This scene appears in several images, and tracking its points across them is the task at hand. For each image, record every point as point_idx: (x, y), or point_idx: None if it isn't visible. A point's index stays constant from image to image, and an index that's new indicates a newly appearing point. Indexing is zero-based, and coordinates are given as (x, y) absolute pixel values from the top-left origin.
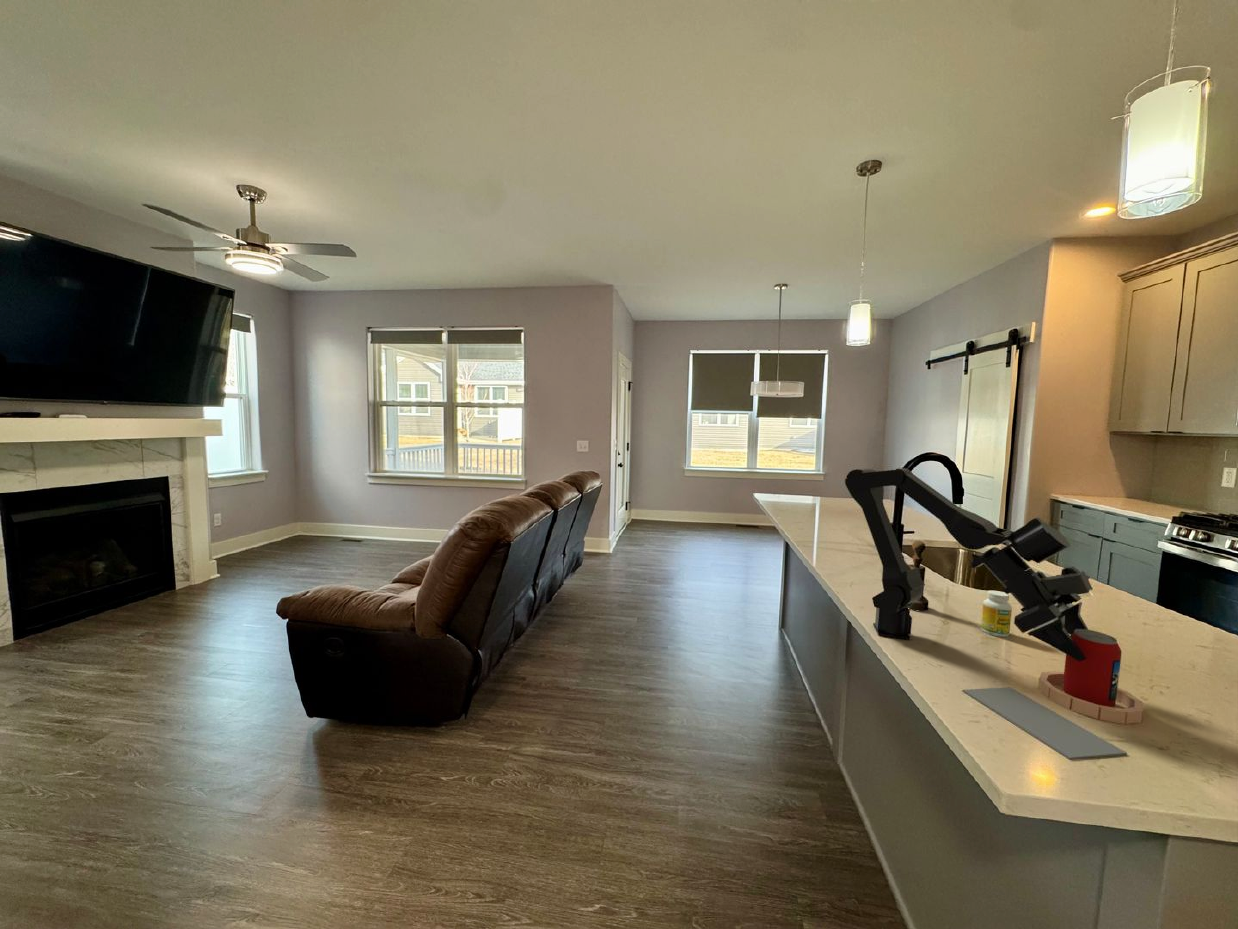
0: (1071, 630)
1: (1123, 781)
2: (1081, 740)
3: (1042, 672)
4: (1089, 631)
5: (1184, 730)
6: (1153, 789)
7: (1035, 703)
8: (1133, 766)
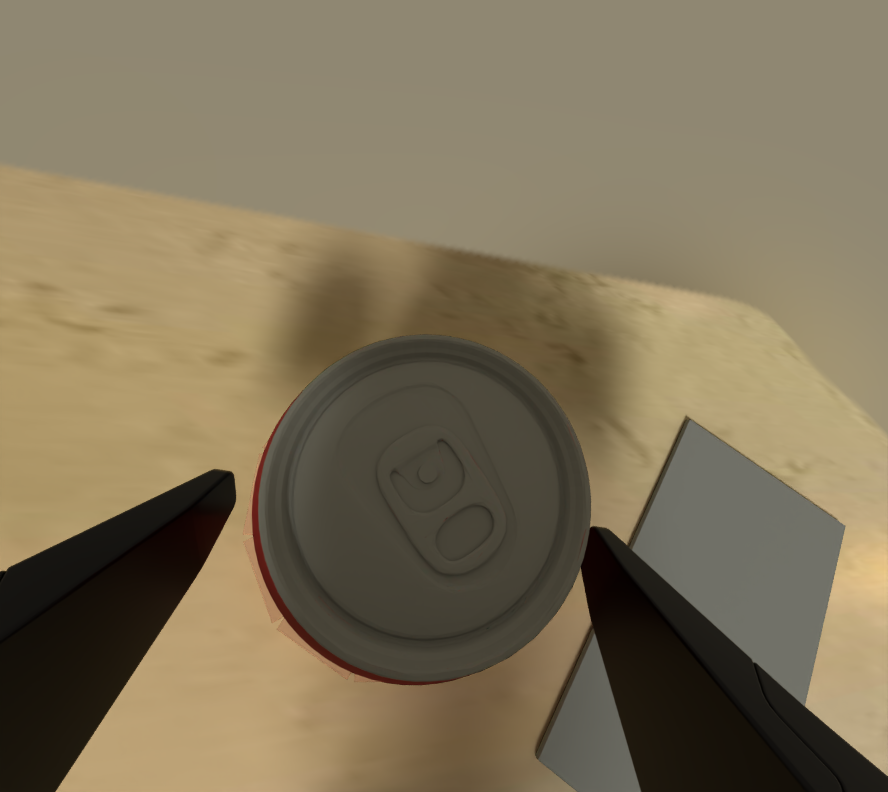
0: (94, 690)
1: (810, 432)
2: (732, 506)
3: (347, 678)
4: (281, 532)
5: (410, 301)
6: (783, 389)
7: None
8: (726, 412)
